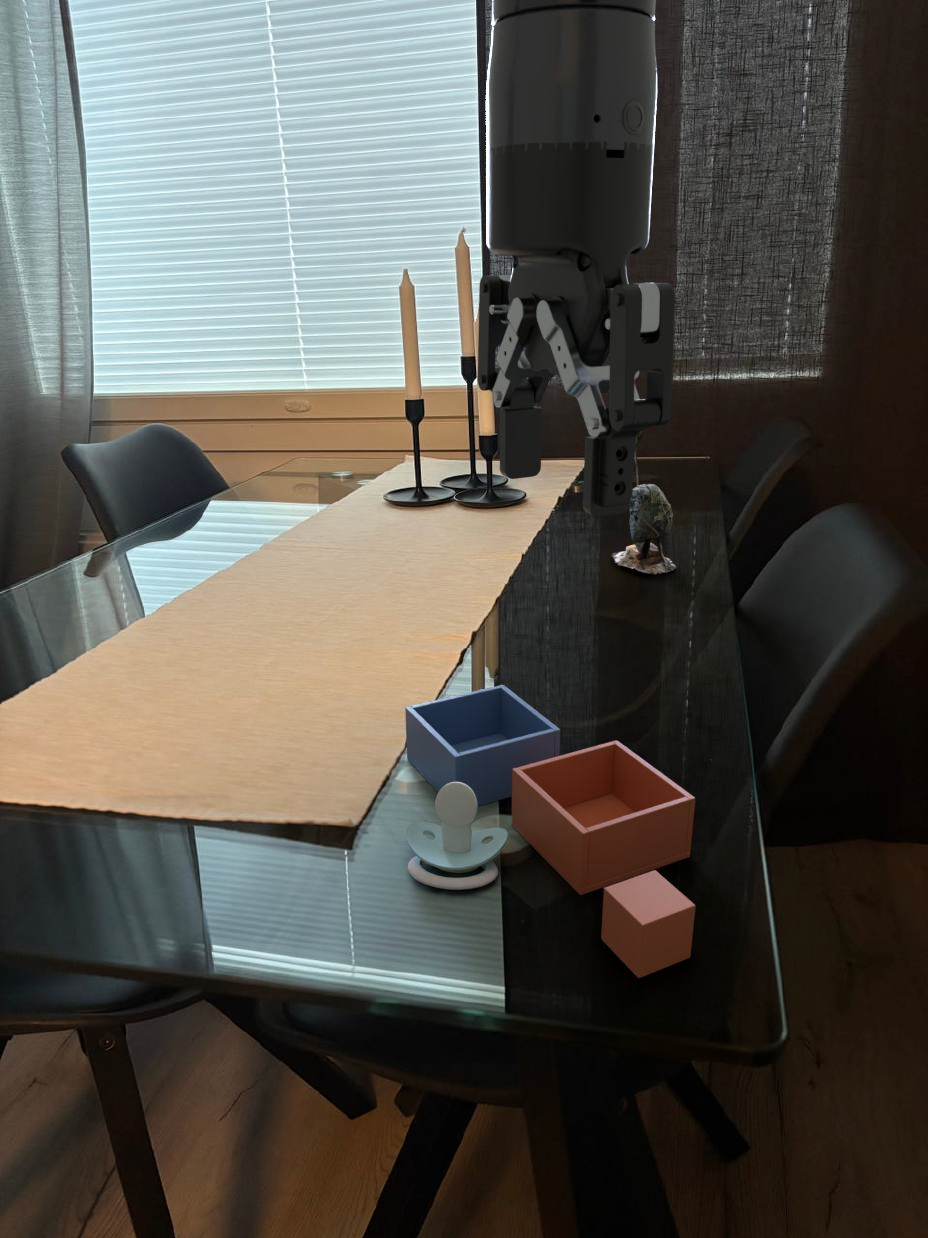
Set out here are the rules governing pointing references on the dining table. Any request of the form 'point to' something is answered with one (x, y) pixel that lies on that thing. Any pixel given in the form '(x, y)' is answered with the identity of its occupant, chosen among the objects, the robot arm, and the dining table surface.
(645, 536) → the plant with pod
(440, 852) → the pacifier
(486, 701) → the blue bin
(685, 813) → the terracotta bin
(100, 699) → the dining table surface
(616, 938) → the block
